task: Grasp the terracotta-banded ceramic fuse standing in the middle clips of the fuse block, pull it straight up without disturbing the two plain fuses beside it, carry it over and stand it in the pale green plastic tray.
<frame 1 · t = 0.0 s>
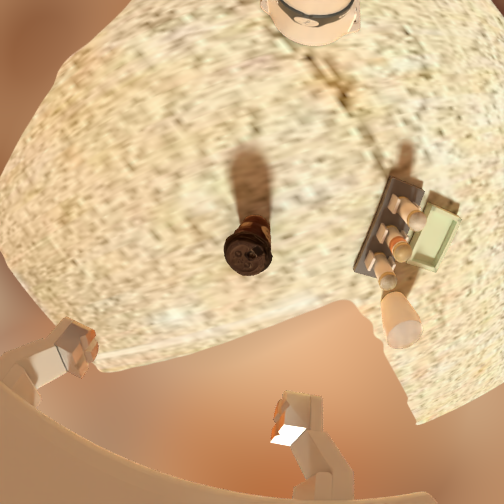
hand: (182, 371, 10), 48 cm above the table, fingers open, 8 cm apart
cup: (392, 301, 63), on the table
fuse 1: (378, 259, 57), point 1 cm above the table, touching fuse block
fuse block: (388, 230, 55), on the table
fuse marked: (389, 232, 54), point 1 cm above the table, touching fuse block
tray: (430, 236, 54), on the table
fuse 2: (401, 204, 51), point 1 cm above the table, touching fuse block
coffee cup: (256, 228, 60), on the table
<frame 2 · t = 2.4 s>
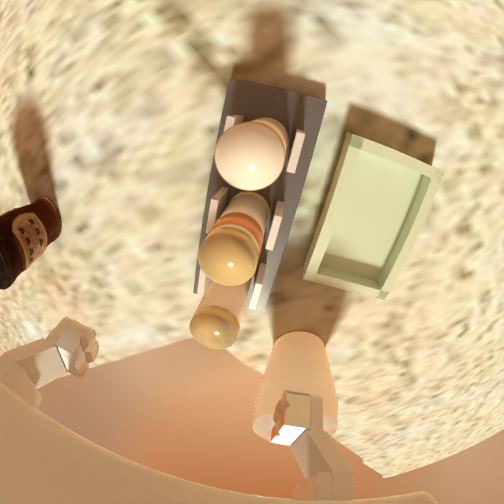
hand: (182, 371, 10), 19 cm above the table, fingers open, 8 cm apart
cup: (299, 347, 35), on the table
fuse 1: (235, 269, 28), point 1 cm above the table, touching fuse block
fuse block: (251, 204, 27), on the table
fuse marked: (249, 209, 25), point 1 cm above the table, touching fuse block
tray: (368, 216, 25), on the table
fuse 2: (265, 139, 22), point 1 cm above the table, touching fuse block
coffee cup: (49, 217, 31), on the table
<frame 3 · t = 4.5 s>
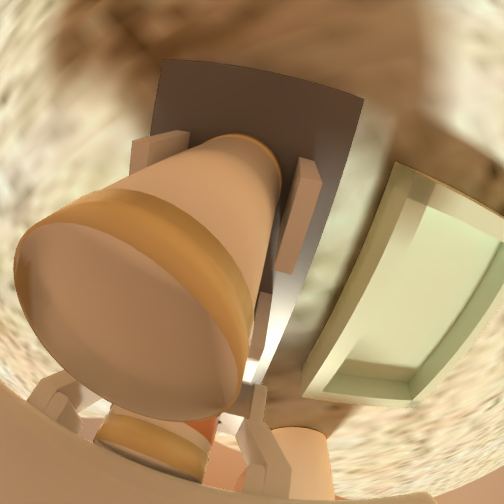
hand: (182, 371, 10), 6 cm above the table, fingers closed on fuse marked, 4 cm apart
cup: (293, 437, 24), on the table
fuse block: (218, 286, 16), on the table
fuse marked: (211, 302, 14), point 2 cm above the table, touching fuse block, gripper
tray: (411, 304, 14), on the table
fuse 2: (235, 178, 11), point 1 cm above the table, touching fuse block
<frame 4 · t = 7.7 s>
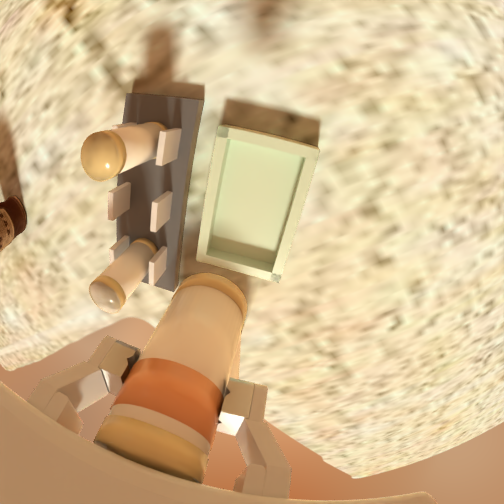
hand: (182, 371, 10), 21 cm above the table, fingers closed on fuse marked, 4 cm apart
fuse 1: (145, 252, 31), point 1 cm above the table, touching fuse block
fuse block: (153, 195, 30), on the table
fuse marked: (211, 303, 14), point 16 cm above the table, touching gripper
tray: (254, 201, 28), on the table
fuse 2: (153, 139, 25), point 1 cm above the table, touching fuse block
coffee cup: (18, 212, 34), on the table
when the fingers open (7 cm above the table, at t = 10.9 s): fuse marked drops 1 cm, resting on tray.
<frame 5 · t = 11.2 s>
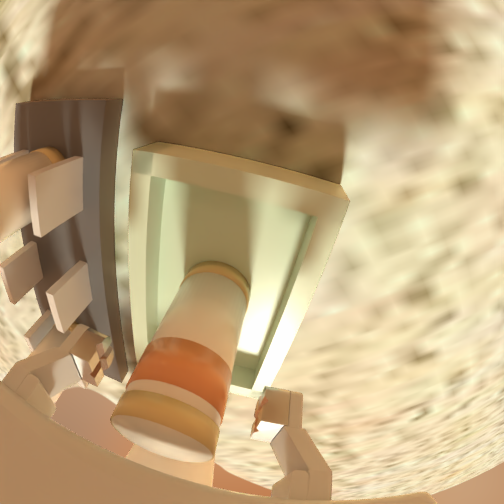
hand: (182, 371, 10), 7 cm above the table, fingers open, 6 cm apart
cup: (187, 417, 26), on the table
fuse 1: (75, 334, 19), point 1 cm above the table, touching fuse block
fuse block: (72, 259, 17), on the table
fuse marked: (216, 290, 15), point 1 cm above the table, touching tray
tray: (221, 281, 16), on the table
fuse 2: (49, 177, 13), point 1 cm above the table, touching fuse block
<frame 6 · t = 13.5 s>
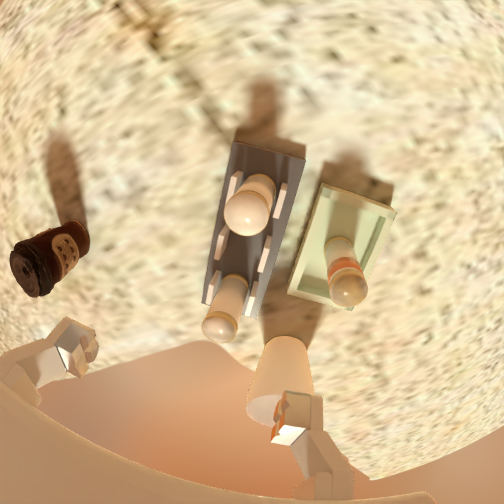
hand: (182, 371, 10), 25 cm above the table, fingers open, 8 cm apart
cup: (285, 349, 43), on the table
fuse 1: (235, 285, 37), point 1 cm above the table, touching fuse block
fuse block: (248, 236, 35), on the table
fuse marked: (338, 249, 33), point 1 cm above the table, touching tray
tray: (337, 246, 34), on the table
fuse 2: (259, 189, 31), point 1 cm above the table, touching fuse block
coffee cup: (78, 236, 40), on the table
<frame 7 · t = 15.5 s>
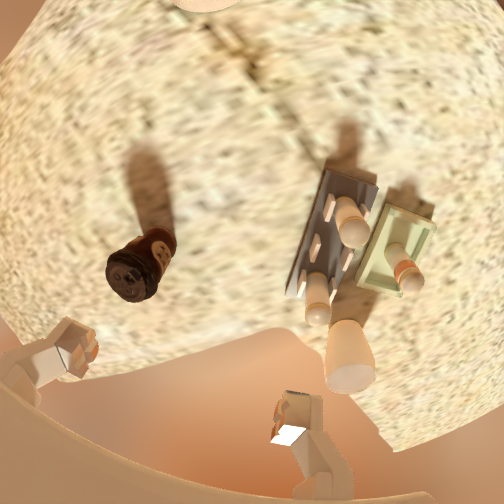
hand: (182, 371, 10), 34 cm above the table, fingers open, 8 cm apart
cup: (344, 330, 52), on the table
fuse 1: (316, 280, 46), point 1 cm above the table, touching fuse block
fuse block: (328, 242, 44), on the table
fuse marked: (394, 252, 42), point 1 cm above the table, touching tray
tray: (393, 249, 42), on the table
fuse 2: (343, 208, 39), point 1 cm above the table, touching fuse block
coffee cup: (161, 242, 48), on the table
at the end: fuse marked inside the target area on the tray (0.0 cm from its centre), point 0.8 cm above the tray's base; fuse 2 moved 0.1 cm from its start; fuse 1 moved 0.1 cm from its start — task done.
